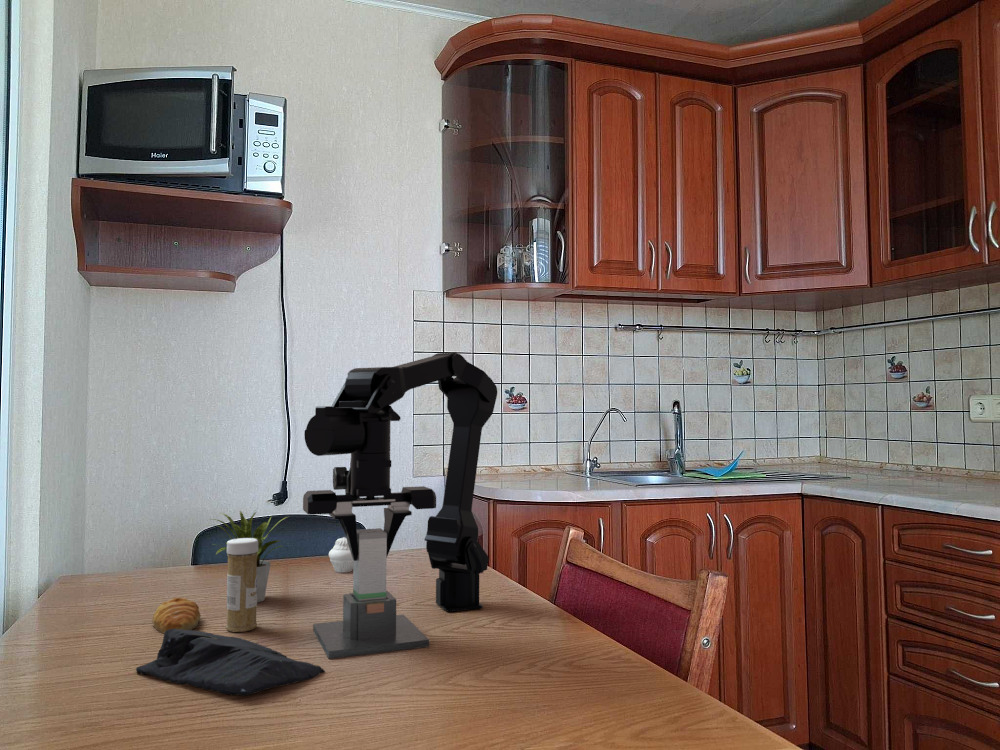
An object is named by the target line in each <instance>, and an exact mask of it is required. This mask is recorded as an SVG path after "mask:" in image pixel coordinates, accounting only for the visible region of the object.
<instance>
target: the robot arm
mask: <svg viewBox="0 0 1000 750" xmlns="http://www.w3.org/2000/svg"><path fill="white" fill-rule="evenodd" d="M435 382H437V384H438V385H437V386H438V389H439V390H440V392H441V393H442V394H443V395H444V396H445V397H446V399H447V400H446V401H447V403H446V410H447V411H448V414H449V416H450V418H451V421H452V424H453V425H452V426H453V427H452V432H451V433H452V434H451V443H450V449H449V456H448V463H447V465H448V466H447V471H446V477H445V478H446V479H445V485H444V486H445V487H444V493H443V501H442V507H441V508H440V509H439V511H438V512H437V514H436V516H433V515H430V516H429V517H428V519H427V529H426V535H425V536H424V541H426V544H425V545H426V546H425V547H426V549H425V550H426V552H427V553H428V559H429V562H430V566H431V569H432V570H433V569H434V570H435V569H437V570H438V577H437V578H436V579H435V604H437V606H439V607H440V608H441V609H442V610H444V611H445V612H448V613H450V612H459V611H468V610H477V609H483V608H484V605H483V604H482V603H481V602H480V574H484V572H485V571H487V570H488V565H489V560H490V556H489V555H488V554H487V552H486V551H485V550H484V548H483V547H482V546H481V544H480V543H479V527H478V524H477V522H476V519H475V517H474V514H473V511H472V510H473V501H474V493H475V487H476V486H475V485H476V477H477V470H478V462H479V455H480V446H481V439H482V430H483V427H484V426H485V425H486V423H487V422H488V420H489V419H490V418H491V416H492V415H493V413H494V410H495V405H496V402H497V397H498V387H497V385H496V383H495V382H494V380H493V379H492V378H491V377H490V376H489V375H488V374H487V372H485V371H484V370H482V368H479V367H477V366H476V365H474V364H472V363H470V362H468V360H467V359H465V357H464V356H463V355H462V354H460V353H458V352H438V353H435V354H433V355H432V356H428V357H425V358H421V359H417V360H412V361H409V362H406V363H402V364H398V365H395V366H377V367H375V366H374V367H355V368H352V369H350V370H349V371H348V372H347V377H346V378H345V381H344V383H343V385H342V387H341V388H340V391H339V392H338V393H337V395H336V397H335V399H334V400H333V402H332V404H331V406H324V405H323V406H321V405H318V406H315V408H314V409H315V415H313V416H312V417H311V418H310V419H309V421H308V423H306V428H305V430H304V441H305V445H306V447H307V448H306V449H308V451H309V452H310V453H311V454H313V455H315V456H316V457H317V456H318V457H321V456H337V455H348V454H350V462H349V465H350V466H349V469H347V467H346V466H335V467H333V468H332V489H333V490H334V491H336V490H337V491H339V490H344V492H345V493H344V494H336V492H334V491H333V490H331V489H326V490H325V489H322V490H307V491H306V492H305V493H304V494H303V497H302V510H303V512H305V513H306V514H307V515H310V516H311V515H315V516H316V515H329V517H331V518H332V519H334V520H338V521H339V524H340V526H341V528H342V530H343V533H344V535H345V536H344V537H345V538H346V539H347V542H348V545H349V548H350V552H351V555H352V558H353V560H354V561H357V554H358V546H357V530H358V529H357V515H356V514H355V513H353V508H354V507H355V508H358V507H378V506H387V507H384V508H383V516H384V517H383V518H384V521H383V530H384V531H385V532H387V557H386V559H387V558H388V556H389V553H390V550H391V548H392V545H393V543H394V541H395V538H396V536H397V533H398V531H399V529H401V526H402V524H403V522H404V520H405V519H406V517H410V516H412V514H413V512H412V511H411V510H410V507H411V506H412V507H414V508H415V509H416V510H426V509H428V510H429V509H431V510H432V509H436V508H437V494H436V492H435V491H434V490H433V489H432V488H429V487H426V486H402V489H401V492H400V491H399V492H392V488H391V468H392V460H391V422H400V421H401V418H402V417H401V416H400V414H399V413H397V412H396V411H395V410H394V409H393V407H392V404H395V403H397V401H400V399H402V398H403V397H404V396H405V394H406V392H409V391H410V390H413V389H417V388H419V387H422V386H425V385H428V384H432V383H435Z"/></svg>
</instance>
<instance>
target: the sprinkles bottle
mask: <svg viewBox="0 0 1000 750" xmlns="http://www.w3.org/2000/svg"><path fill="white" fill-rule="evenodd" d="M226 543H227V545H226V547H227V549H226V550H227V551H226V554H227V573H226V609H227V611H226V614H227V615H226V616H227V617H226V626H225V629H226V630H227V631H228V632H231V633H232V632H233V633H244V632H249V631H252V630H255V629H256V628H257V626H258V622H257V605H258V602H257V552H258V540H257V539H254V538H253V537H252V538H238V539H236V538H232V540H231V539H229V540H228V541H227V542H226Z"/></svg>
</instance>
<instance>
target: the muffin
mask: <svg viewBox="0 0 1000 750" xmlns="http://www.w3.org/2000/svg"><path fill="white" fill-rule="evenodd" d="M328 558H329V561H330V563H331V565H332V566H333V569H334V571H335V572H336V573H340V574H341V573H343V574H344V573H345V574H346V573H351V572H352V571H353V558H352V555H351V552H350V548H349V545H348V542H347V539H346V536H343V537H341V538H340V537H339V538H337V540H335V541H334V546H333V548H331V550H329V552H328Z"/></svg>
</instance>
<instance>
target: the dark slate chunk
mask: <svg viewBox="0 0 1000 750" xmlns="http://www.w3.org/2000/svg"><path fill="white" fill-rule="evenodd" d="M135 670H136V673H140V674H141V675H144V676H145V675H151V676H152V677H154V678H156V679H159V680H162V681H167V682H170V683H174V684H175V683H176V684H177V685H189V686H193V687H195V688H198V689H203V690H205V691H212V692H216V693H219V694H223V695H231V696H236V695H238V696H241V697H242V696H250V695H253V694H256V693H258V692H261V691H266V690H268V689H272V688H276V687H283V686H287V685H291V684H295V683H299V682H300V683H301V682H303V681H307V680H311V679H314V678H315V677H317V676H319V675H320V674H321V673H324V672H325V669H323V668H322V667H321V666H319V665H315V664H313V663H310V662H306V661H301V660H300V661H299V660H295V659H293V658H292V659H291V658H290V657H288V656H287V655H284V654H282V653H281V652H278V651H277V650H274V649H272V648H271V647H270V648H269V647H267V646H264V645H262V644H259V643H256V642H253V641H250V640H247V639H243V638H241V637H236V636H226V635H221V634H214V633H211V632H208V631H207V632H205V631H200V630H193V629H192V630H179V629H170V630H167V631H165V633H163V639H162V642H161V646H160V649H159V650H158V652H157V656H156V659H155V660H152V661H150V662H148V663H145V664H143V665H139V666H137V667H135Z"/></svg>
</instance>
